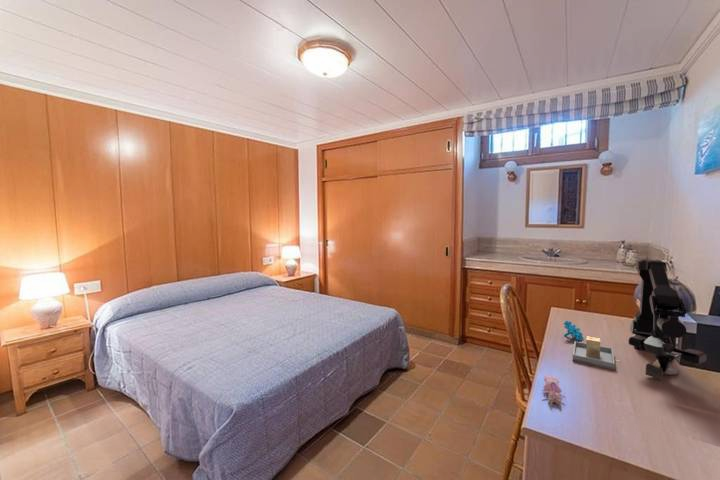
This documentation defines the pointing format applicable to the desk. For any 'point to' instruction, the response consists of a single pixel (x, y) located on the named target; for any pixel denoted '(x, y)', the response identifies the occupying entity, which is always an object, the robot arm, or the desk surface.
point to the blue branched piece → (573, 331)
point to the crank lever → (654, 370)
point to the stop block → (593, 347)
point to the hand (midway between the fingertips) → (664, 371)
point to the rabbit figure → (553, 390)
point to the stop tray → (604, 361)
